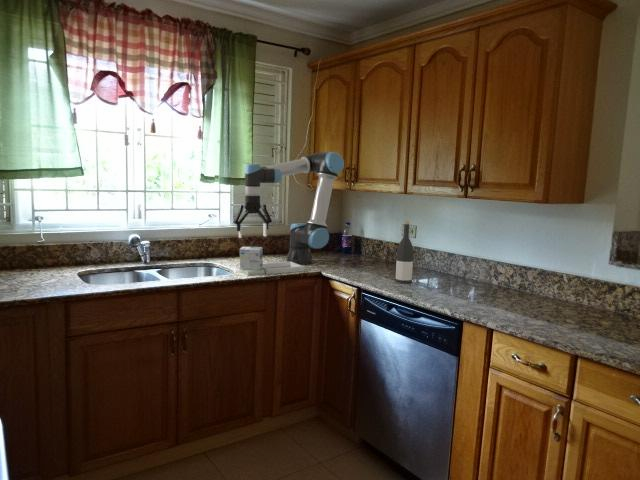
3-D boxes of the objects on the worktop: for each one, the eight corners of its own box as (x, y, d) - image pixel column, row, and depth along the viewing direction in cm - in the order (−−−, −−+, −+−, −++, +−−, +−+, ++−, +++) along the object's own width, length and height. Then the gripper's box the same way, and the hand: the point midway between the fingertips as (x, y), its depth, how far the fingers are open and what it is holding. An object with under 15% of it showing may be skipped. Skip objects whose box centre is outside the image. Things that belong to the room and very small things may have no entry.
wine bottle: (393, 282, 239) (396, 221, 235) (397, 279, 247) (400, 220, 243) (410, 284, 236) (413, 222, 233) (413, 281, 244) (416, 221, 240)
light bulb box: (263, 267, 255) (262, 246, 252) (260, 270, 248) (260, 249, 246) (243, 266, 256) (242, 246, 253) (239, 269, 249) (239, 248, 247)
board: (254, 269, 260) (254, 266, 259) (264, 274, 249) (264, 270, 249) (238, 271, 255) (238, 267, 255) (248, 275, 245) (248, 271, 244)
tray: (290, 265, 274) (290, 261, 274) (304, 271, 261) (304, 266, 261) (253, 268, 263) (254, 264, 263) (266, 274, 249) (266, 269, 249)
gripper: (271, 194, 257) (271, 234, 260) (226, 194, 244) (226, 237, 247) (278, 195, 250) (278, 236, 253) (231, 195, 237) (232, 239, 240)
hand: (252, 236), depth 250 cm, fingers open, 13 cm apart
